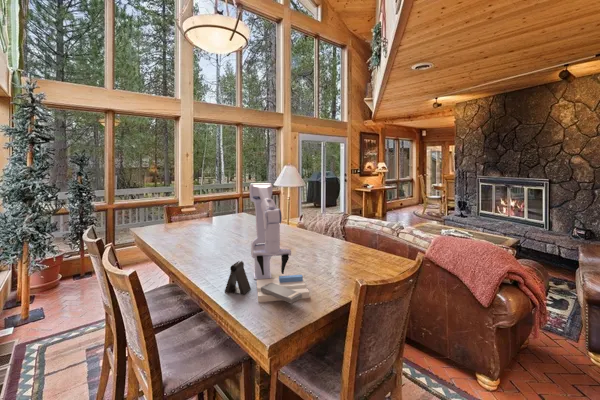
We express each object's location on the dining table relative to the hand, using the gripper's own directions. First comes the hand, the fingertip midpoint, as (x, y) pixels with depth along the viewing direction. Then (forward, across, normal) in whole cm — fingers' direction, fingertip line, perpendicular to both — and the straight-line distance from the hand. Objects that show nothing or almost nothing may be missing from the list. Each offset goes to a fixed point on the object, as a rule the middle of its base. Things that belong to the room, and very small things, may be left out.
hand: (272, 273), depth 114 cm
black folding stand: (+10, -14, +8) cm, 19 cm away
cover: (+7, +2, -4) cm, 8 cm away
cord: (+7, +8, +9) cm, 14 cm away
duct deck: (+10, +4, +5) cm, 12 cm away
